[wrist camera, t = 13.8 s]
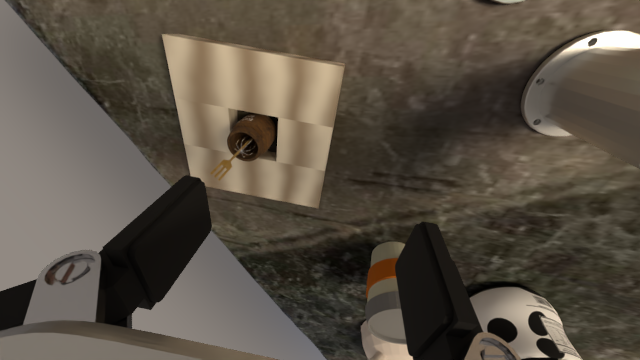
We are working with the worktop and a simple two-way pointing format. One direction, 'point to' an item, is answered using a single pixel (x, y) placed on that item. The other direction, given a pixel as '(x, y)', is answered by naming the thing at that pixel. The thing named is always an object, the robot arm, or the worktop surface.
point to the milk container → (523, 322)
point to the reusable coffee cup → (384, 295)
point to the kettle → (382, 347)
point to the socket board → (257, 97)
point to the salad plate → (507, 1)
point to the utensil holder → (248, 140)
